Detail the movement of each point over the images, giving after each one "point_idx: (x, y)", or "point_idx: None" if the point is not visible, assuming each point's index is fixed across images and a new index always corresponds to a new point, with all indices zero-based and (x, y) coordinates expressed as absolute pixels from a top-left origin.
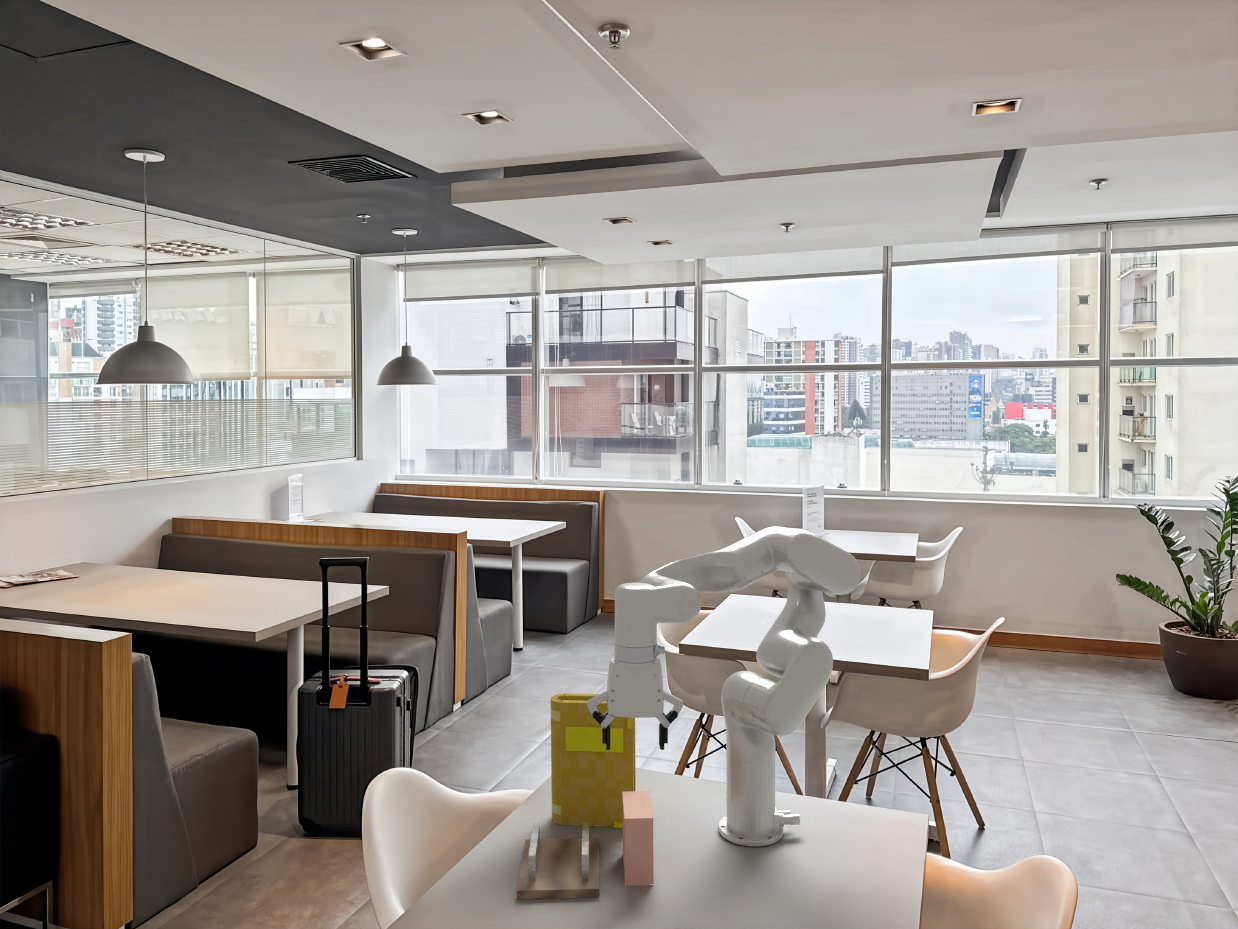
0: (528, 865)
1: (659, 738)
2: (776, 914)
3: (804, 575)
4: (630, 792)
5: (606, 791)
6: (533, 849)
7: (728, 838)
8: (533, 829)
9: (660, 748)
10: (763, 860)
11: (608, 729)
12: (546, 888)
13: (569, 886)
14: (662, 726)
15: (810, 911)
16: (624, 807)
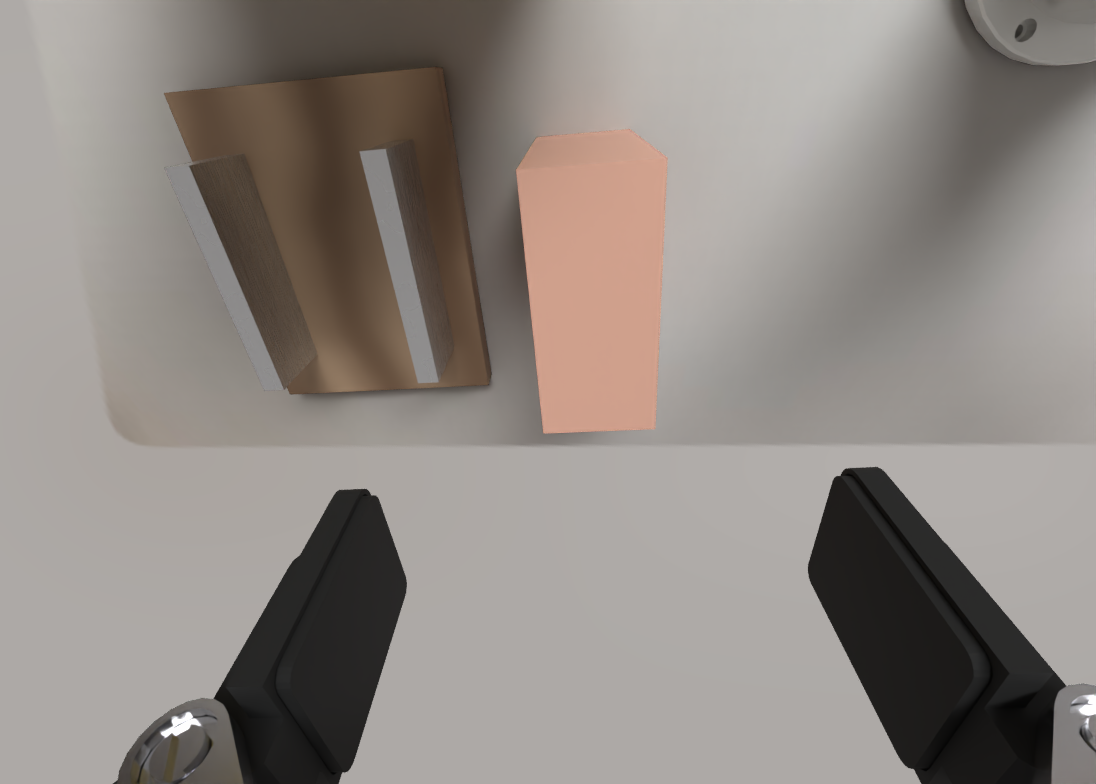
0: None
1: (857, 570)
2: (897, 429)
3: None
4: (561, 181)
5: None
6: (262, 357)
7: (973, 9)
8: (192, 221)
9: (812, 578)
10: (1018, 168)
11: (331, 780)
12: (357, 385)
13: (411, 376)
14: (961, 769)
15: (985, 419)
16: (538, 347)
